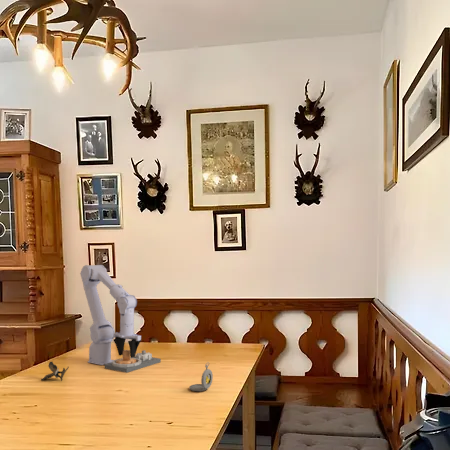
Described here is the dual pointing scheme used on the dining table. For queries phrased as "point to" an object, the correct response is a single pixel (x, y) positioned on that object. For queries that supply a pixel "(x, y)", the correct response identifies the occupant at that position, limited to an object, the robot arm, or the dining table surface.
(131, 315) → the robot arm
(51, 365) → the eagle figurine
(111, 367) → the carrier plate
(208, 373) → the pocket watch
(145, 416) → the dining table surface
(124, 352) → the planet gear
